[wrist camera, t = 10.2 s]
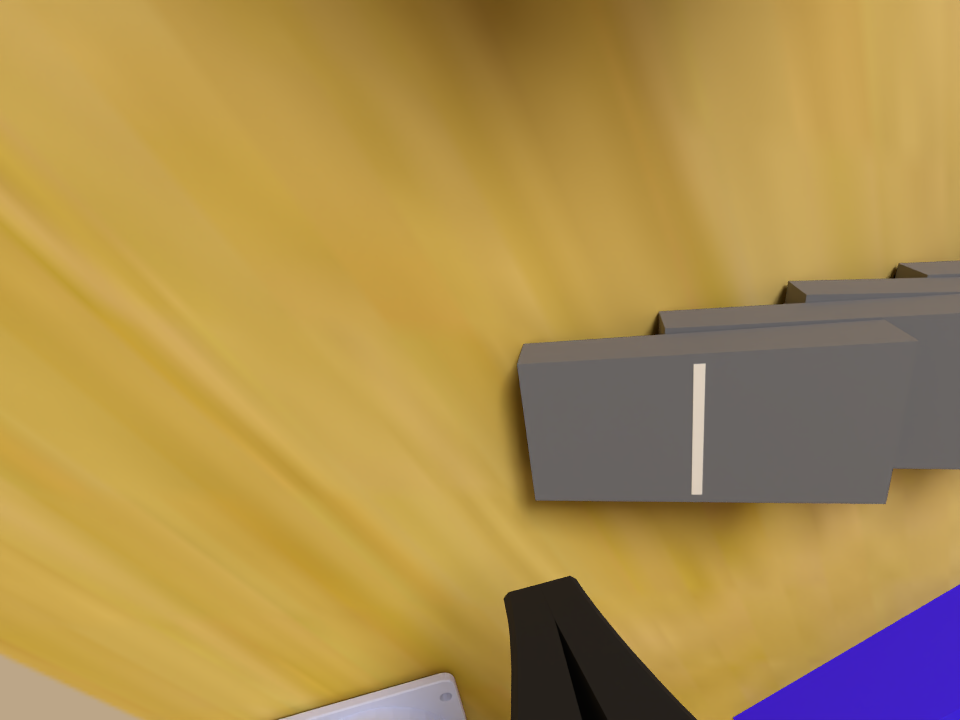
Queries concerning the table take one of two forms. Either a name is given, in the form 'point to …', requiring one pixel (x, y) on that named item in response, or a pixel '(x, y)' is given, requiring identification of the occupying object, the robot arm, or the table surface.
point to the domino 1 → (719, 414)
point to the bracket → (883, 674)
